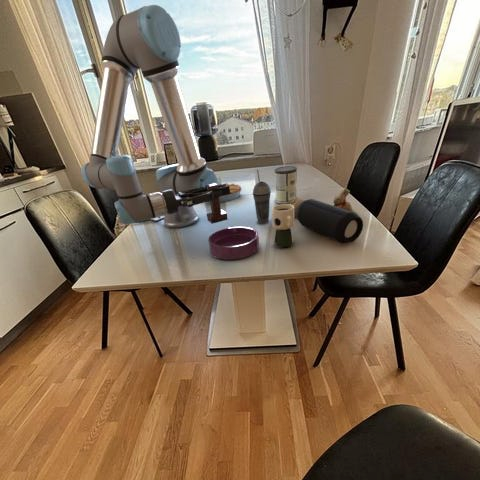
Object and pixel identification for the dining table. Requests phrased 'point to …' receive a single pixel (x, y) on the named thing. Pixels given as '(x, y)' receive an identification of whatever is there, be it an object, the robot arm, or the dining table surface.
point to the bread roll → (296, 205)
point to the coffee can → (285, 184)
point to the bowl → (234, 243)
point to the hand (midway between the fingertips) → (227, 188)
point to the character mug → (283, 224)
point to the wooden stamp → (215, 208)
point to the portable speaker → (330, 220)
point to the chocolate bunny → (342, 200)
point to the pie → (231, 192)
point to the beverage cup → (262, 201)
